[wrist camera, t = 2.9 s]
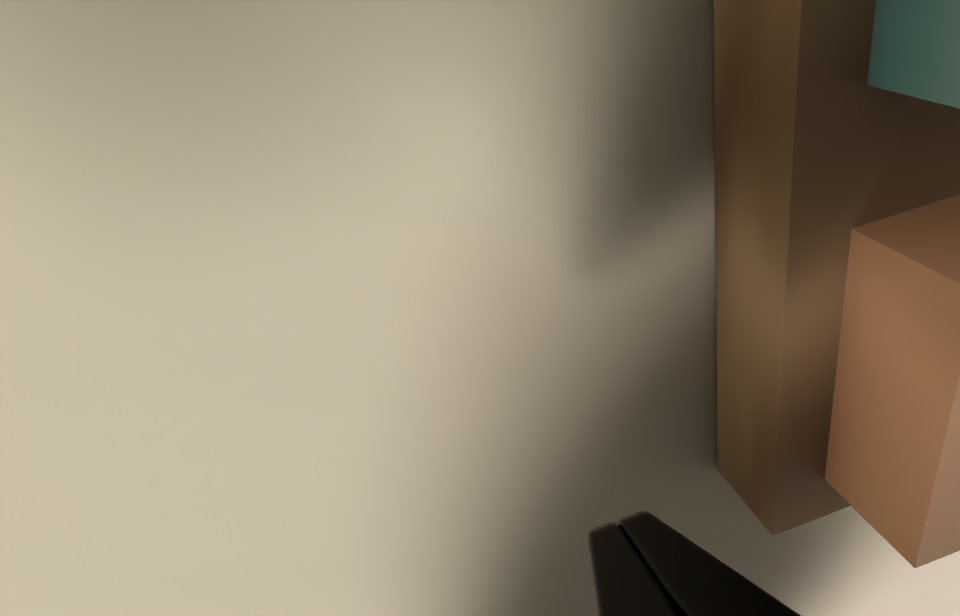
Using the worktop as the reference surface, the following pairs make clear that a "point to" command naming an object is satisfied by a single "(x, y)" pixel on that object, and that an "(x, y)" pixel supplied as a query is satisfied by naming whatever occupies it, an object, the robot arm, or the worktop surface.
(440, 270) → the worktop surface
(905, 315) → the terracotta tile
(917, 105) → the walnut step
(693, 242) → the worktop surface
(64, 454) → the worktop surface
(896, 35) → the teal tile
